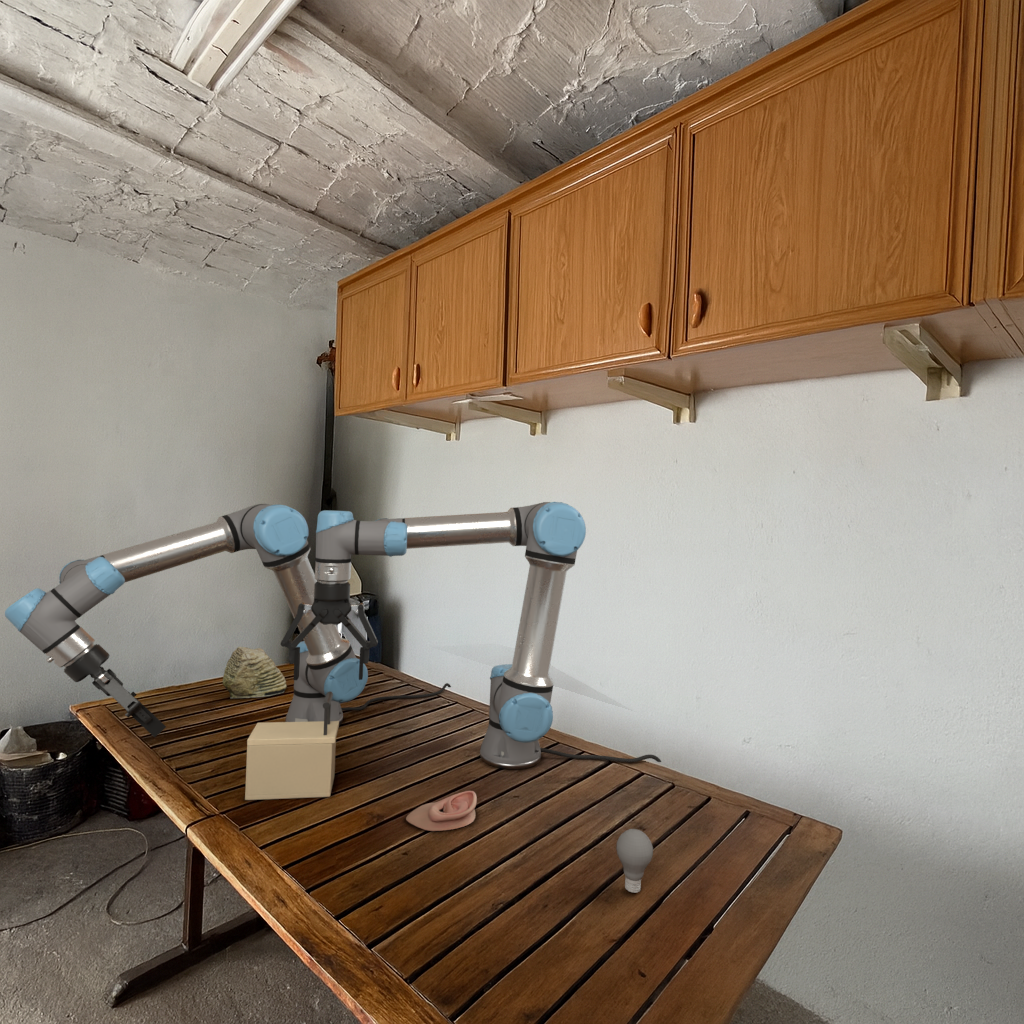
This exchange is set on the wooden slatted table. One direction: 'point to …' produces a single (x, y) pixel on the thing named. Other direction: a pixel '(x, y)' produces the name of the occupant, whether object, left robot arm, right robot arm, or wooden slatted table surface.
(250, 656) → the fossil
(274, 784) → the chest
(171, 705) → the wooden slatted table surface
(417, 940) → the wooden slatted table surface
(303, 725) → the lid
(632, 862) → the light bulb
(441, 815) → the anatomical model
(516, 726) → the right robot arm
